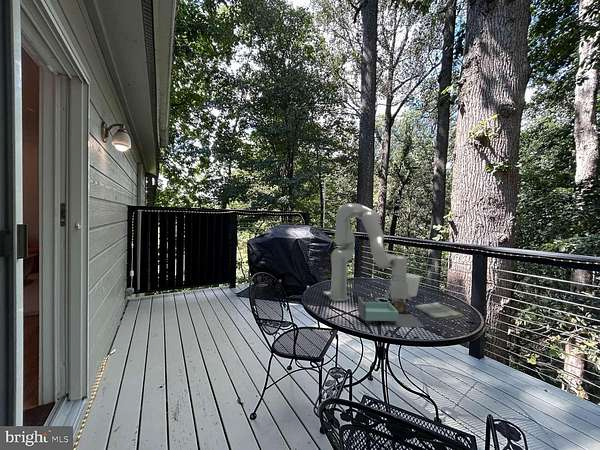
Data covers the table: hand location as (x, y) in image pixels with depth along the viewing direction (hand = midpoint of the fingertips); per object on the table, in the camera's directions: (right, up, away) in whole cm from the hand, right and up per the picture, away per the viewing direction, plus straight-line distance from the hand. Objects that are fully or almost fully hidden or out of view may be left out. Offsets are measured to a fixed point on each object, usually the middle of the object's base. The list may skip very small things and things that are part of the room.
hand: (397, 309), depth 167 cm
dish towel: (+23, -2, 0) cm, 23 cm away
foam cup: (+19, +1, +31) cm, 36 cm away
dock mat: (-3, -2, -14) cm, 14 cm away
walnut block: (0, -1, 0) cm, 1 cm away
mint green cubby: (-15, -1, -14) cm, 21 cm away
